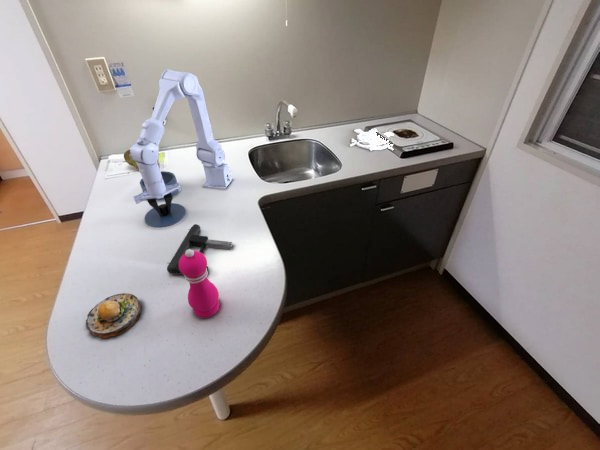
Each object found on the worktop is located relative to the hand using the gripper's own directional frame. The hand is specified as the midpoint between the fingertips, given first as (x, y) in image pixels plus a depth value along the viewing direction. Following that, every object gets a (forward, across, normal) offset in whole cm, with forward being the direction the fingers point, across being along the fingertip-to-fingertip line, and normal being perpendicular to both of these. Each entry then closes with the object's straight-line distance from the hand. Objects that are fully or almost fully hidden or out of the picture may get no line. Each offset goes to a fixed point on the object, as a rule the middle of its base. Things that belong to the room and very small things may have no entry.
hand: (164, 213), depth 107 cm
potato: (+2, +1, +43) cm, 43 cm away
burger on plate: (+2, -21, -35) cm, 41 cm away
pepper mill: (+2, -1, -45) cm, 45 cm away
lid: (+1, 0, 0) cm, 1 cm away
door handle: (+2, +5, -25) cm, 26 cm away
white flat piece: (+2, +108, +8) cm, 108 cm away
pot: (+1, +3, +17) cm, 17 cm away
